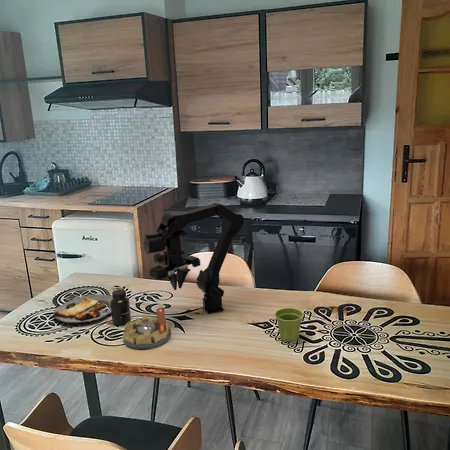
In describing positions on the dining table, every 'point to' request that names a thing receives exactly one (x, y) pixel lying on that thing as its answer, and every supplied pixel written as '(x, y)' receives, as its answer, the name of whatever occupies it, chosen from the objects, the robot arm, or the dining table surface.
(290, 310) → the plant pot
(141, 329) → the flange
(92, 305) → the food plate
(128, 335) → the handwheel
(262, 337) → the dining table surface
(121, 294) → the supplement bottle
